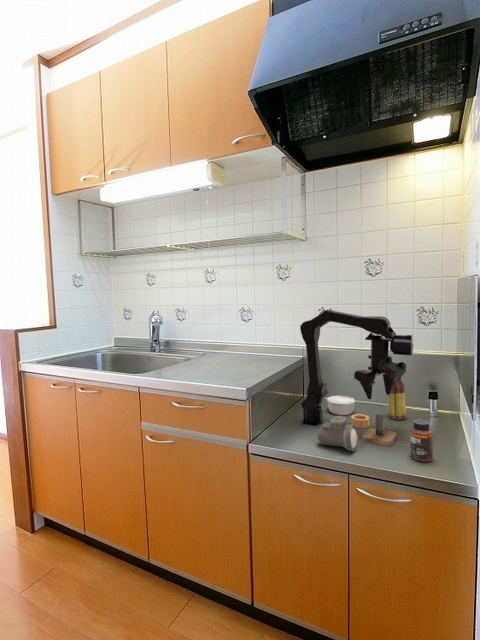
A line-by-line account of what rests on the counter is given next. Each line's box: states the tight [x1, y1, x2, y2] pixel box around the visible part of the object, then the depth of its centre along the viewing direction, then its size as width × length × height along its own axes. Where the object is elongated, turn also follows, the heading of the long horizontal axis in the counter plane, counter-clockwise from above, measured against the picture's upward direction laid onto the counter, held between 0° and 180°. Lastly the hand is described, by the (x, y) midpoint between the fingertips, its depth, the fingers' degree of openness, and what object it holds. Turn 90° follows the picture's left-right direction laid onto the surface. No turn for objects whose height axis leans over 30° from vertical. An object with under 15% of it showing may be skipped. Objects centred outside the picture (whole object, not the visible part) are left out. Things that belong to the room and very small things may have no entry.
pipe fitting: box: [317, 415, 359, 452], centre depth 118 cm, size 12×8×10 cm
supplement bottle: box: [410, 418, 434, 463], centre depth 108 cm, size 6×6×11 cm
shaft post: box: [361, 414, 397, 448], centre depth 123 cm, size 9×9×8 cm
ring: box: [350, 413, 371, 429], centre depth 136 cm, size 6×6×3 cm
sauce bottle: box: [387, 377, 407, 421], centre depth 141 cm, size 7×6×20 cm
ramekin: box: [326, 395, 356, 416], centre depth 151 cm, size 11×11×5 cm
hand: (378, 396), depth 127 cm, fingers open, 9 cm apart
